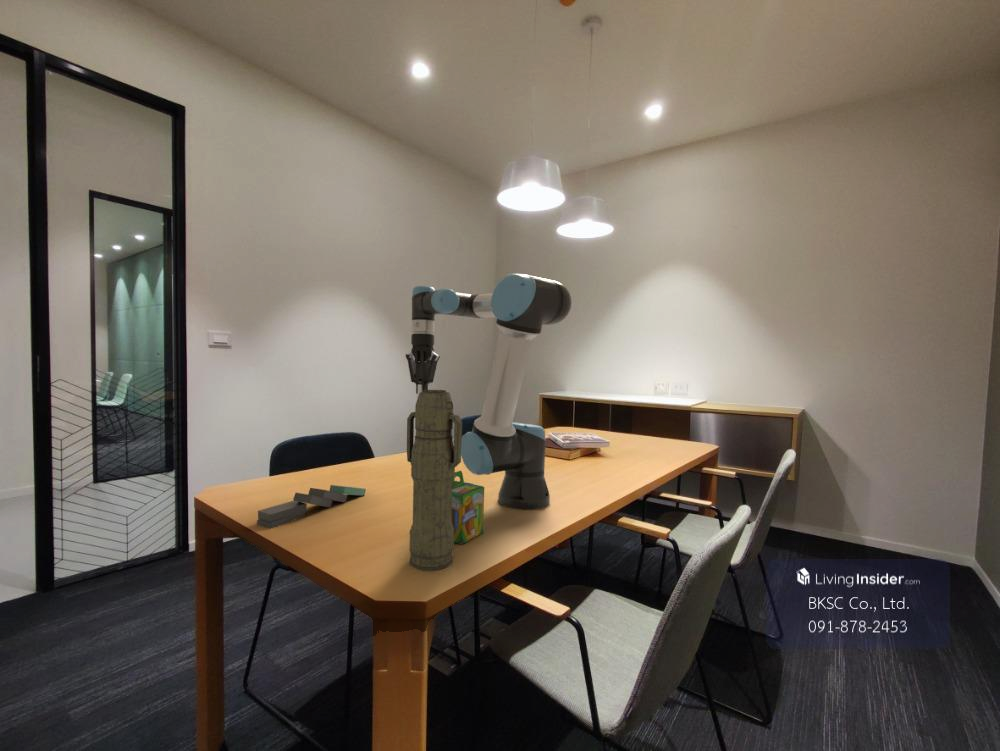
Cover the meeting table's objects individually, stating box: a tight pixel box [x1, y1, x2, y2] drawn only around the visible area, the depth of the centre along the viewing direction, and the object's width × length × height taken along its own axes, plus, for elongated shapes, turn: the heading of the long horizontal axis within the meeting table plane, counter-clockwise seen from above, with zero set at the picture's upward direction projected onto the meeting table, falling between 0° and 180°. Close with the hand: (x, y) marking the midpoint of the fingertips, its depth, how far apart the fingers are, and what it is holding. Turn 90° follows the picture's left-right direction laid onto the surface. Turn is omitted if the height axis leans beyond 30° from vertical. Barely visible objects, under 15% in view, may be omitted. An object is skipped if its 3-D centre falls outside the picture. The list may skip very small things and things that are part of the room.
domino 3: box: [292, 492, 334, 508], centre depth 120 cm, size 2×5×10 cm
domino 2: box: [256, 512, 306, 529], centre depth 113 cm, size 2×5×10 cm
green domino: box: [328, 484, 367, 496], centre depth 131 cm, size 2×5×10 cm
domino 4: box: [307, 487, 348, 503], centre depth 124 cm, size 2×5×10 cm
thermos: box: [406, 389, 463, 572], centre depth 91 cm, size 9×12×35 cm
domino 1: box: [257, 500, 308, 523], centre depth 113 cm, size 2×5×10 cm
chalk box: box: [452, 470, 485, 545], centre depth 106 cm, size 9×9×15 cm
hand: (421, 403), depth 150 cm, fingers closed
